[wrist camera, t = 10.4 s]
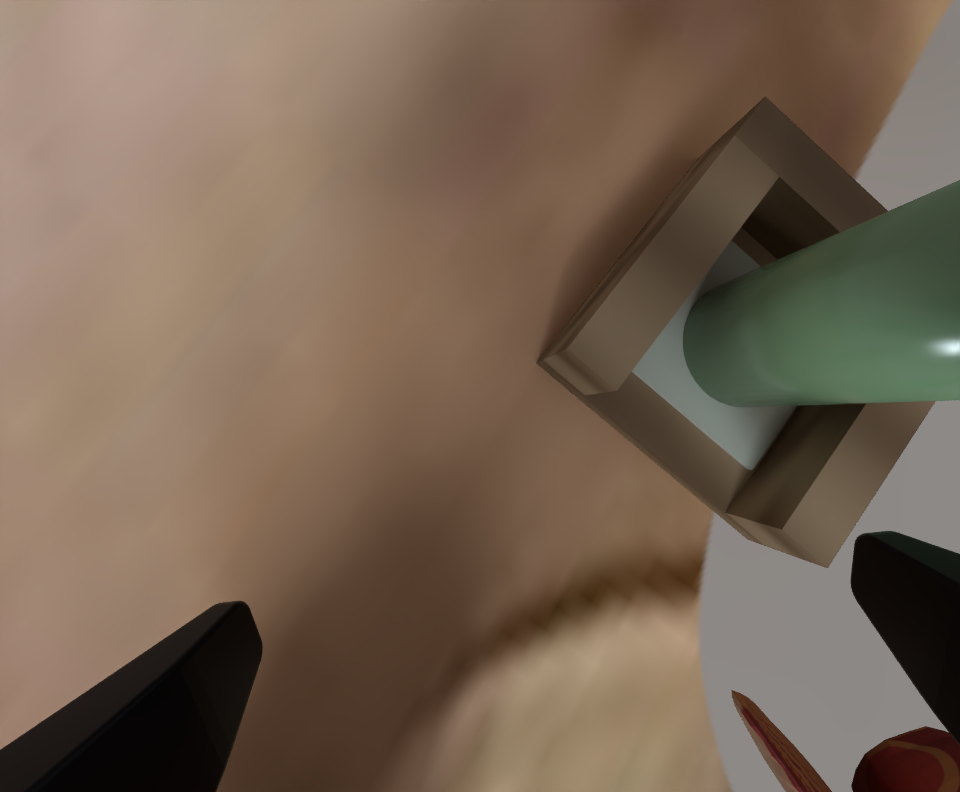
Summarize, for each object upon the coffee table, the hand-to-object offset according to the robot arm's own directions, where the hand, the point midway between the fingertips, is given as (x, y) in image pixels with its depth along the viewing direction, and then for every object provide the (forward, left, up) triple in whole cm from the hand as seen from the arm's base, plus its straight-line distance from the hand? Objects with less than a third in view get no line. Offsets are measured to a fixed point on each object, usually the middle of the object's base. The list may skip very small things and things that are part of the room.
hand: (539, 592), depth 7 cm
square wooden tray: (+11, -6, -12) cm, 18 cm away
